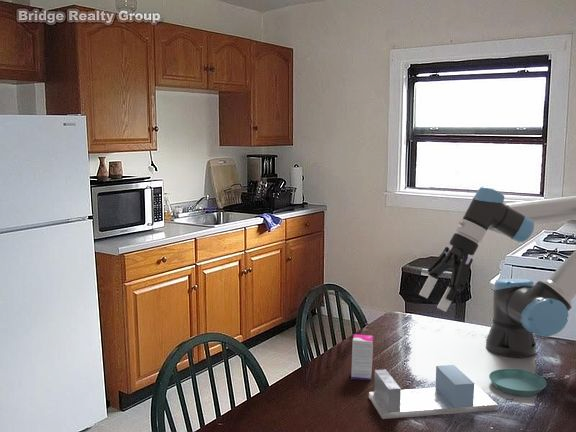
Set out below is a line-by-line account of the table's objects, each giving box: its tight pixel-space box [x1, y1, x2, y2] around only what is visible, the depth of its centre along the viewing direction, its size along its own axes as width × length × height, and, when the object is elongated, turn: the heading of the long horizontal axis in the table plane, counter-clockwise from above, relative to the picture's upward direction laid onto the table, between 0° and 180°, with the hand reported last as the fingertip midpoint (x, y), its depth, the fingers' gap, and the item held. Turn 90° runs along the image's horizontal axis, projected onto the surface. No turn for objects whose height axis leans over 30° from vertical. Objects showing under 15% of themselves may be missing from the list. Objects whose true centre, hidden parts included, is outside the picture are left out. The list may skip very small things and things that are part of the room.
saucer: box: [488, 368, 548, 397], centre depth 160 cm, size 15×15×3 cm
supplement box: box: [350, 333, 374, 381], centre depth 167 cm, size 6×6×12 cm
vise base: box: [368, 368, 499, 420], centre depth 150 cm, size 30×12×8 cm, turn 98°
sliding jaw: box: [435, 364, 475, 408], centre depth 150 cm, size 5×12×6 cm, turn 8°
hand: (431, 302), depth 168 cm, fingers open, 13 cm apart
